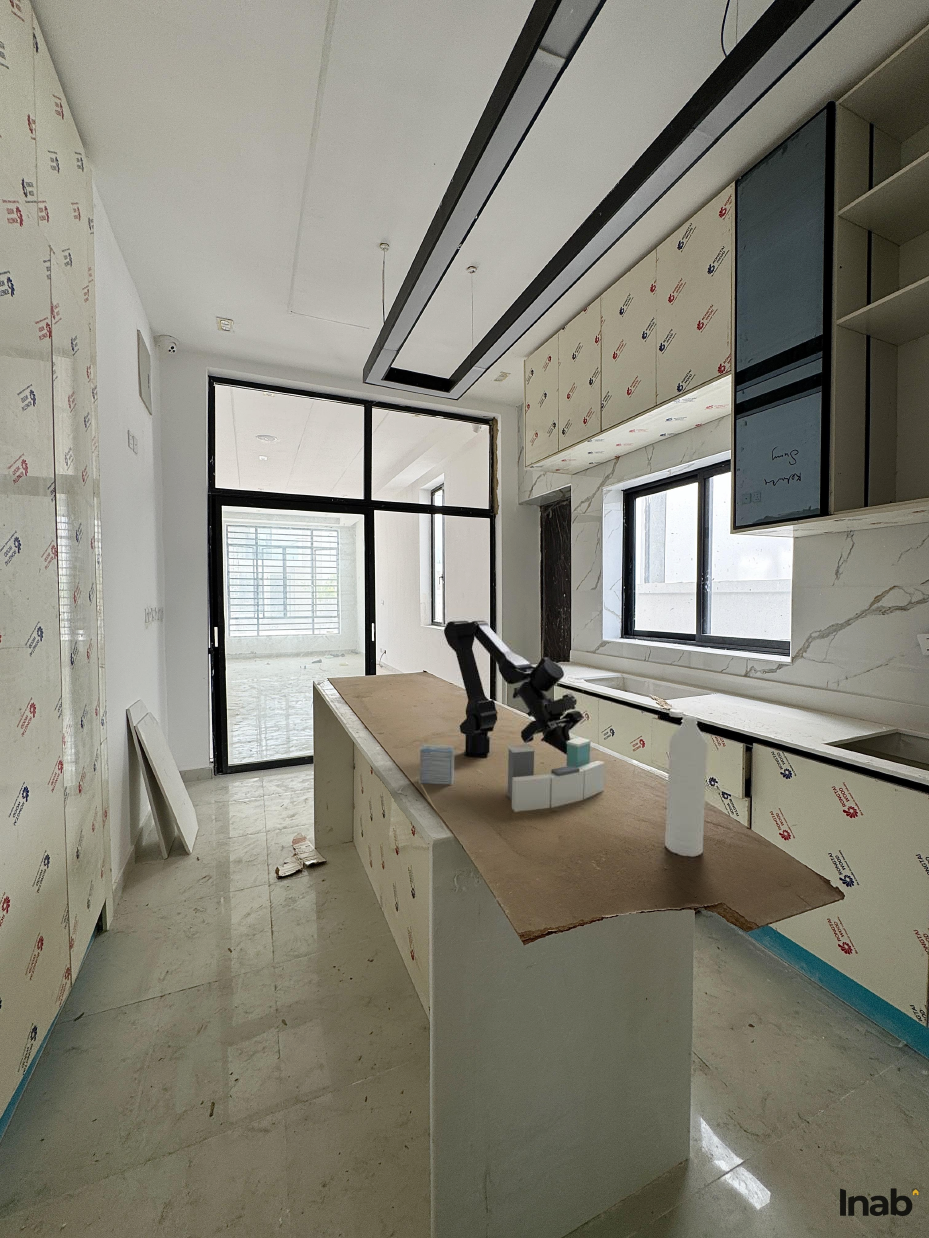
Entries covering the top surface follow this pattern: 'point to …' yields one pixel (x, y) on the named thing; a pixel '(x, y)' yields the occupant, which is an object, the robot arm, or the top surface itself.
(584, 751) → the teal and white block
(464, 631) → the robot arm
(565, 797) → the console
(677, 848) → the water bottle
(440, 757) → the medicine box
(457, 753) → the top surface
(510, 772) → the grey and white block
